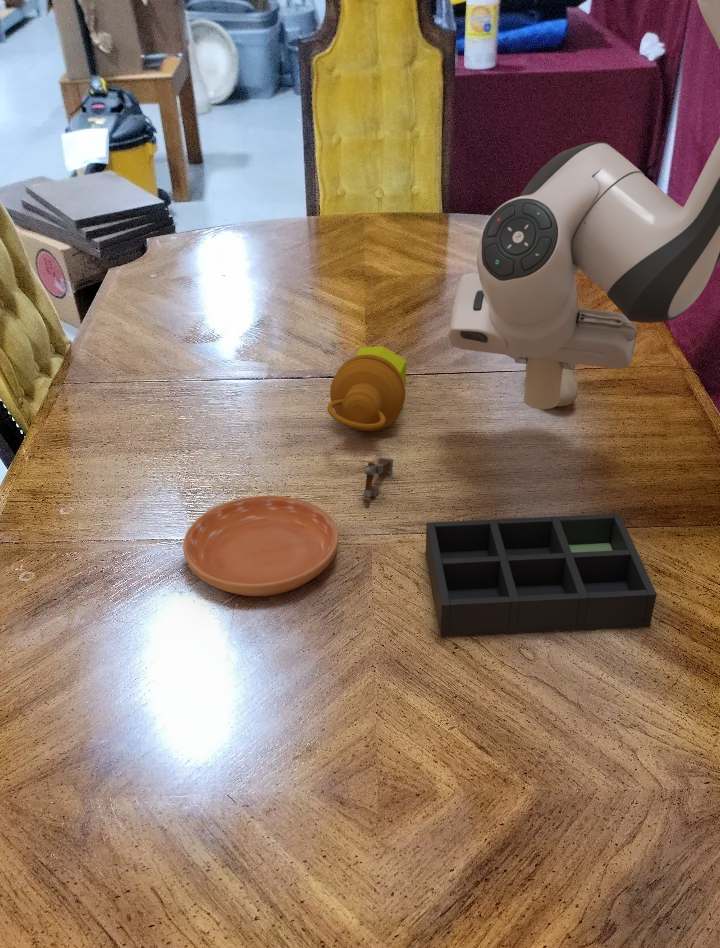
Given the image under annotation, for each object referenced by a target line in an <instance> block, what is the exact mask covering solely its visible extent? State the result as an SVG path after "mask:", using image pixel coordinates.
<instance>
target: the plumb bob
mask: <svg viewBox="0 0 720 948" xmlns="http://www.w3.org/2000/svg"><path fill="white" fill-rule="evenodd" d="M406 386H407V360H406V358H404V357H402V356H400V355H398V354H396V353H395V352H394V351H392V350H390V349H388V348H387V347H386V346H384V345H379V346H367V347H365V346H364V347H359V349H358V350H357V352H356V354H355V355H354V356H352V357H350V358H349V359H348V360H346V361H345V362H343V363H342V365H341V366H339V368H338V369H337V371H336V373H335V375H334V376H333V379H332V380H331V384H330V390H329V391H330V392H329V397H330V402H329V403H328V405H327V413H328V414H329V416H330V417H331V418H332V419H334V421H336V422H338V423H339V424H342V425H345V426H347V427H350V428H352V429H355V430H356V431H357V430H358V431H361V432H375V431H380V430H382V429H385V428H386V427H388V426H390V425H391V424H392V423H393V422H395V420H396V419H397V418H398V416H399V415H400V413H401V411H402V408H403V405H404V403H405V399H406Z"/></svg>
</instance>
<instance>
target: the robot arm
mask: <svg viewBox="0 0 720 948" xmlns="http://www.w3.org/2000/svg"><path fill="white" fill-rule="evenodd" d="M696 1H697V2H696V3H697V5H698V7H699V11H700V13H701V15H702V18H703V20H704V22H705V25H707V28H708V30H709V32H710V33H711V35H712V37H713V40H714V41H715V44H716V45H717V48H718V50H720V0H696ZM476 256H477V257H476V265H477V272H470V273H465V274H463V275H462V276H461V279H460V281H459V284H458V287H457V290H456V293H455V297H454V301H453V305H452V310H451V316H450V323H449V330H448V339H449V342H450V344H451V346H453V347H455V348H457V349H459V350H462V351H473V352H480V353H489V354H490V353H491V354H497V355H504V356H507V357H509V358H511V359H513V360H514V363H515V364H521V365H526V364H527V358H535V359H543V360H551V361H559V362H562V363H561V366H562V369H569V370H573V371H575V369H576V366H578V365H584V366H591V367H601V368H608V369H614V370H623V369H627V368H629V367H630V366H631V363H632V360H633V357H634V352H635V346H636V340H637V335H638V333H637V332H638V329H637V325H636V324H635V323H645V324H648V323H649V324H653V323H664V322H669V321H673V320H675V319H677V318H679V317H680V316H681V315H682V314H683V313H685V312H686V311H687V310H688V309H689V308H690V307H691V306H692V305H693V304H694V303H695V302H696V301H697V300H698V298H699V297H700V296H701V294H702V293H703V291H704V290H705V288H706V287H707V285H708V284H709V283H708V282H709V281H710V279H711V277H712V276H713V274H714V272H715V269H716V267H717V265H718V262H719V260H720V136H719V137H718V139H717V141H716V143H715V145H714V148H713V149H712V151H711V153H710V155H709V156H708V159H707V161H706V163H705V165H704V166H703V169H702V170H701V172H700V175H699V176H698V178H697V181H696V182H695V184H694V187H693V188H692V190H691V192H690V194H689V196H688V198H687V199H686V202H685V203H684V206H682V205H680V204H679V203H677V202H676V201H675V200H674V199H673V198H672V197H670V196H669V195H668V194H667V193H665V192H664V190H662V189H661V188H659V186H658V185H656V184H655V183H654V182H653V181H651V180H650V179H649V178H648V177H647V176H645V173H644V172H643V171H641V170H640V169H639V168H638V167H637V166H636V165H634V164H633V163H632V162H631V161H630V160H629V159H627V158H626V157H625V156H624V155H623V154H621V153H620V152H619V151H617V150H616V149H615V148H613V147H612V146H611V145H610V144H609V143H607V142H604V141H592V142H587V143H582V144H579V145H576V146H573V147H571V148H569V149H565V150H563V151H561V152H559V153H558V154H556V155H555V156H554V157H552V158H551V159H550V160H549V161H548V162H547V163H545V164H544V165H543V166H542V167H541V168H540V169H539V170H538V171H537V172H536V173H535V174H534V176H533V177H532V178H531V179H530V181H529V182H528V183H527V185H525V187H524V188H523V190H522V192H521V193H520V195H519V196H517V197H513V198H511V199H508V200H507V201H506V202H504V203H502V204H501V205H499V206H498V207H497V208H496V209H495V210H494V211H493V213H492V214H491V215H490V216H489V217H488V219H487V220H486V222H485V224H484V225H483V228H482V231H481V234H480V237H479V241H478V246H477V253H476ZM579 270H580V271H581V272H582V273H583V274H585V276H587V278H589V279H590V280H591V281H592V282H593V283H594V284H596V286H598V287H599V288H600V289H601V290H602V291H603V292H604V293H605V294H606V296H607V298H608V299H609V300H610V301H611V302H612V303H613V305H614V306H615V307H616V308H617V309H618V310H619V311H620V312H621V313H620V312H615V311H611V310H600V309H593V308H583V307H579V299H578V292H577V284H576V275H577V273H578V271H579Z"/></svg>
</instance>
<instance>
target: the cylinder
mask: <svg viewBox="0 0 720 948" xmlns="http://www.w3.org/2000/svg"><path fill="white" fill-rule="evenodd" d="M561 363H562V362H559V361H551V360H543V359H535V358H527V368H526V367H525V380H524V393H523V402H524V404H525V405H526V406H528V407H529V408H533V409H536V410H550V409H553V408H555V407H558V406H557V405H558V403H559V399H560V390H561V381H562V372H563V369H562V366H561Z"/></svg>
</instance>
